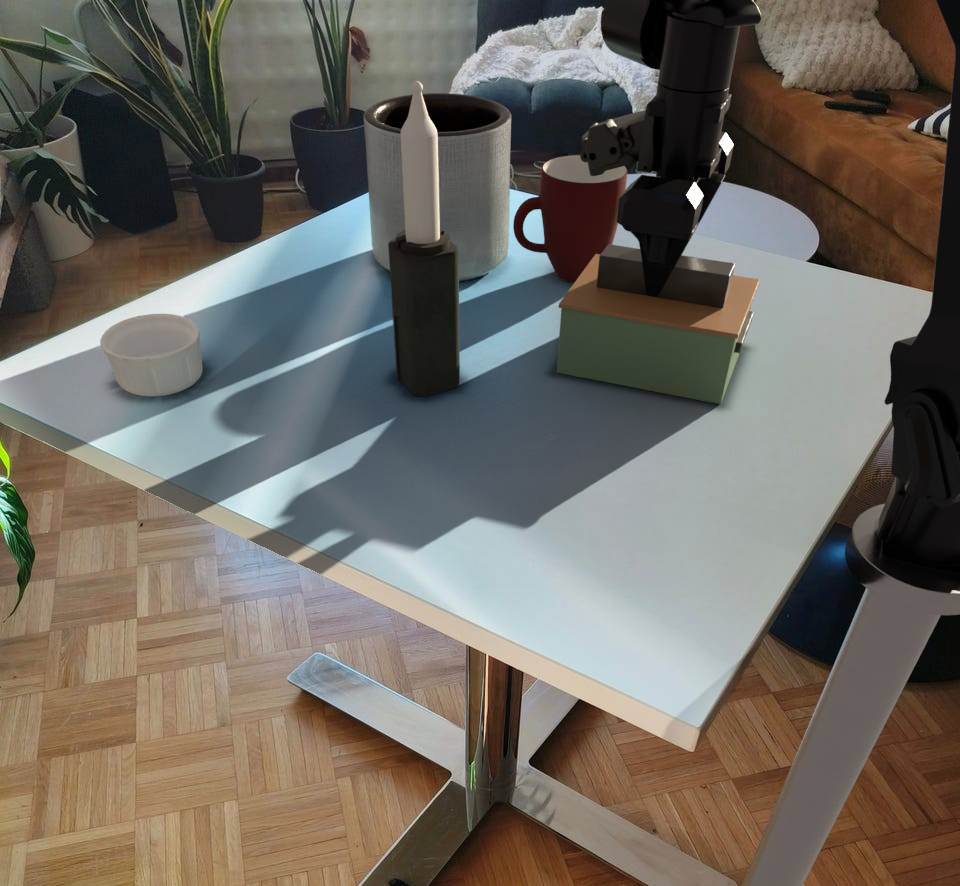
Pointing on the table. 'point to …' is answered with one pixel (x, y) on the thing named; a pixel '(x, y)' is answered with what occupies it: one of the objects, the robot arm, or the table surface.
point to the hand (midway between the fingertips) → (663, 276)
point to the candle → (424, 267)
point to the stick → (685, 282)
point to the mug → (573, 213)
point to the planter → (446, 176)
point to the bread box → (653, 338)
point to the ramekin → (154, 353)
